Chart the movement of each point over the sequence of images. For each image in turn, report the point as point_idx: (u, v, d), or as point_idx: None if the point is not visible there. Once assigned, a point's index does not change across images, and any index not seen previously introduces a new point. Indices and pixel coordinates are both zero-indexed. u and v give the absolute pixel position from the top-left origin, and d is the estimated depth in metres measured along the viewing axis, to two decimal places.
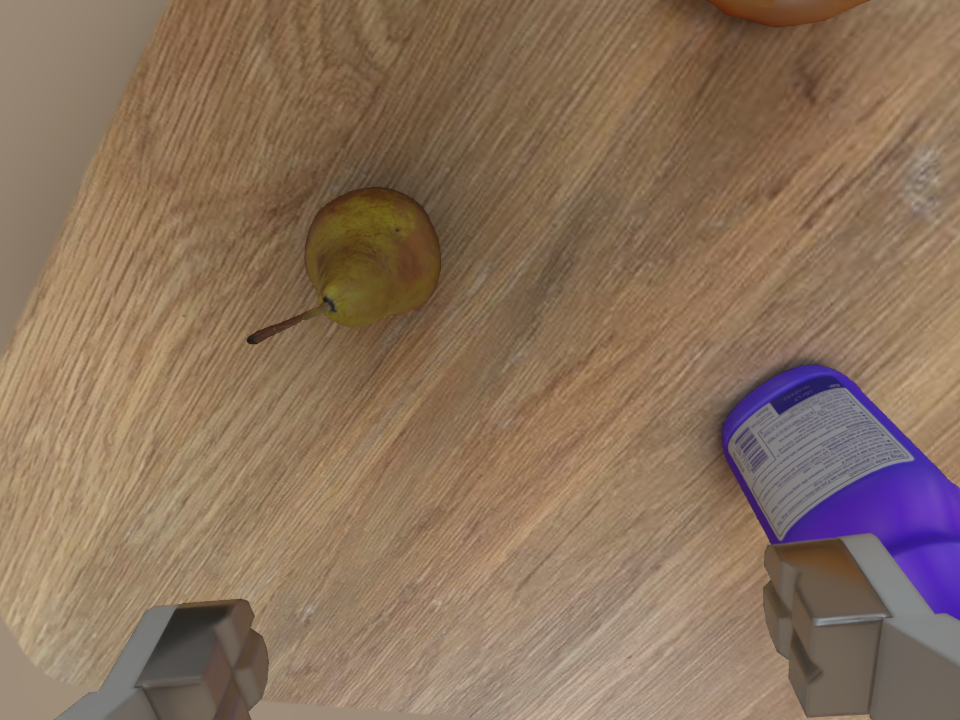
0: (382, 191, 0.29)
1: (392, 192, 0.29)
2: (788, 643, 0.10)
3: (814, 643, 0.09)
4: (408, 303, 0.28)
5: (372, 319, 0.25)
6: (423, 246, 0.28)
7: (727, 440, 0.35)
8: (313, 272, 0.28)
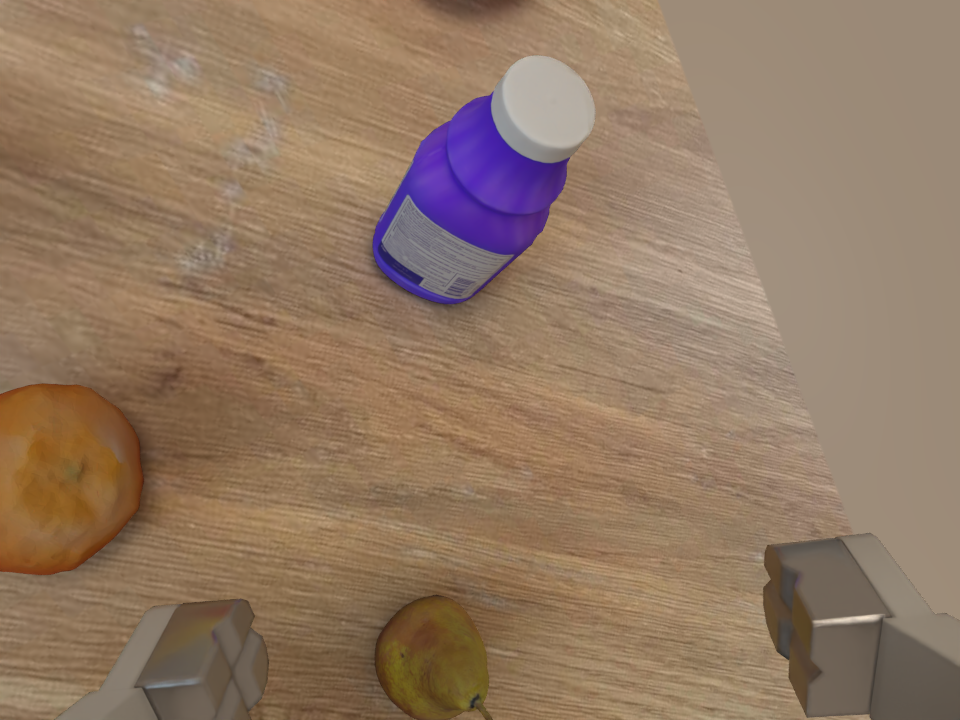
0: (379, 675, 0.34)
1: (376, 666, 0.34)
2: (788, 643, 0.10)
3: (814, 643, 0.09)
4: (456, 619, 0.34)
5: (474, 656, 0.30)
6: (407, 627, 0.34)
7: (462, 299, 0.41)
8: None
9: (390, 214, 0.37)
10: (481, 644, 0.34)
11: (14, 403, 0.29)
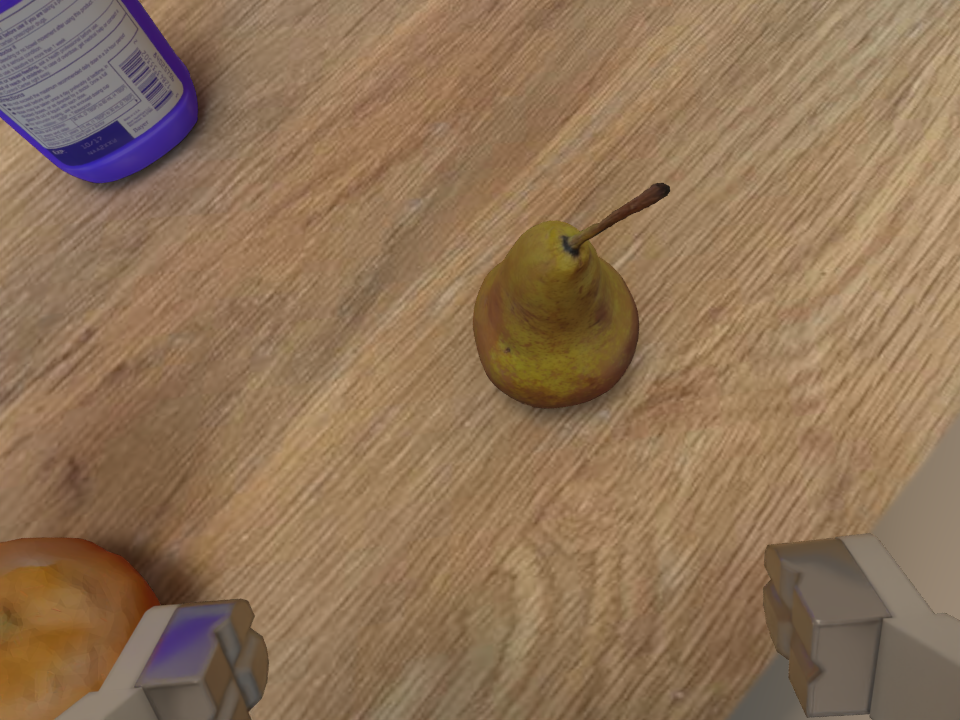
0: (531, 400, 0.23)
1: (520, 398, 0.24)
2: (788, 643, 0.10)
3: (814, 643, 0.09)
4: None
5: (528, 230, 0.19)
6: (482, 329, 0.23)
7: (185, 97, 0.30)
8: (619, 304, 0.22)
9: None
10: None
11: None
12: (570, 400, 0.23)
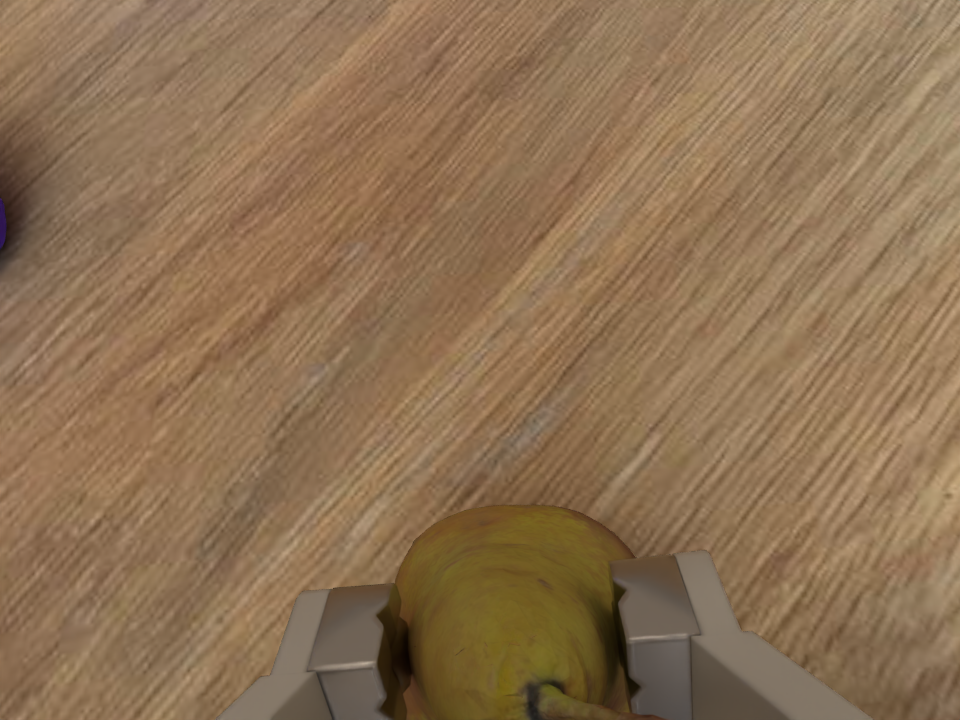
0: None
1: None
2: None
3: (631, 659, 0.09)
4: (436, 555, 0.13)
5: (458, 602, 0.09)
6: None
7: None
8: None
9: None
10: (529, 524, 0.13)
11: None
12: None
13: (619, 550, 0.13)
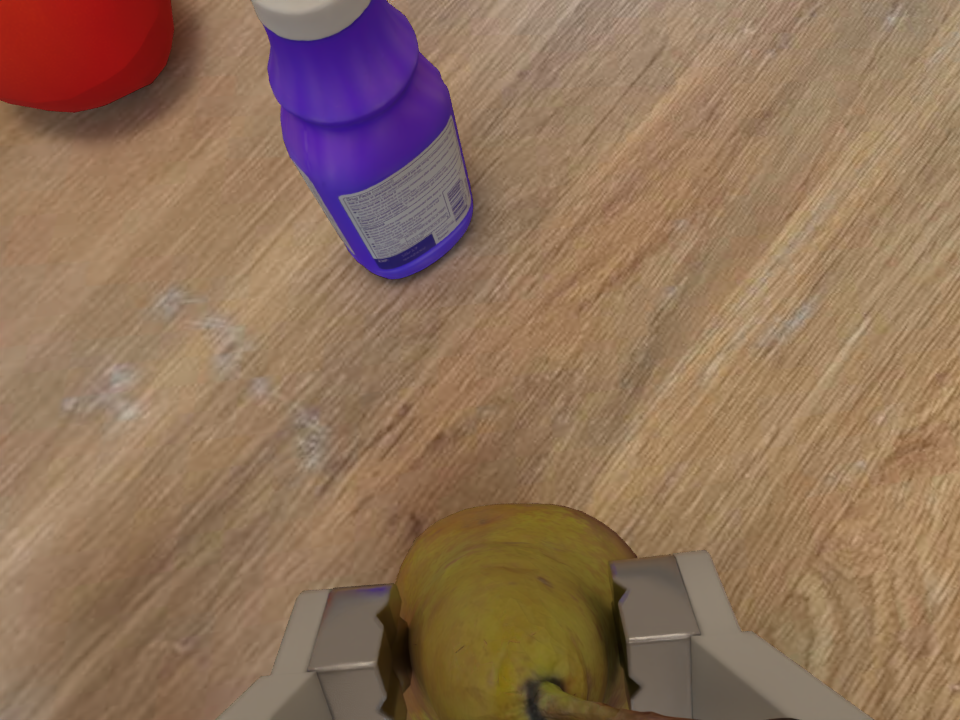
0: None
1: None
2: None
3: (630, 660, 0.09)
4: (437, 553, 0.13)
5: (458, 600, 0.09)
6: None
7: (470, 207, 0.37)
8: None
9: (351, 232, 0.32)
10: (530, 522, 0.13)
11: None
12: None
13: (620, 548, 0.13)
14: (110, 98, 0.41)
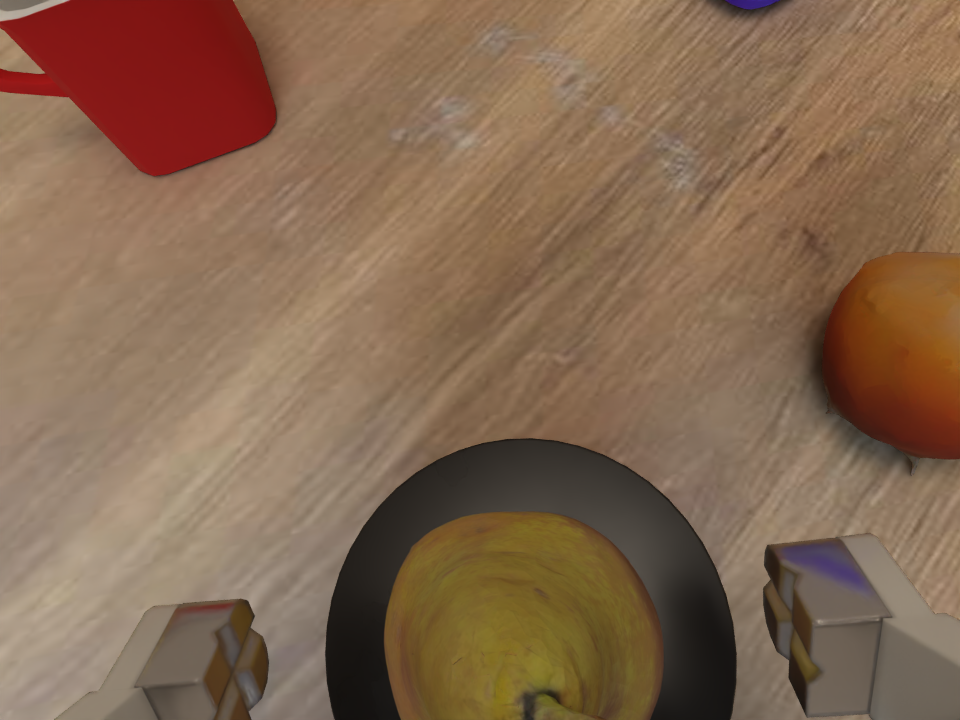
0: None
1: None
2: (788, 643, 0.10)
3: (814, 643, 0.09)
4: (434, 562, 0.13)
5: (456, 611, 0.09)
6: (394, 680, 0.13)
7: None
8: (634, 665, 0.12)
9: None
10: (526, 531, 0.13)
11: (896, 308, 0.24)
12: None
13: (615, 557, 0.13)
14: None
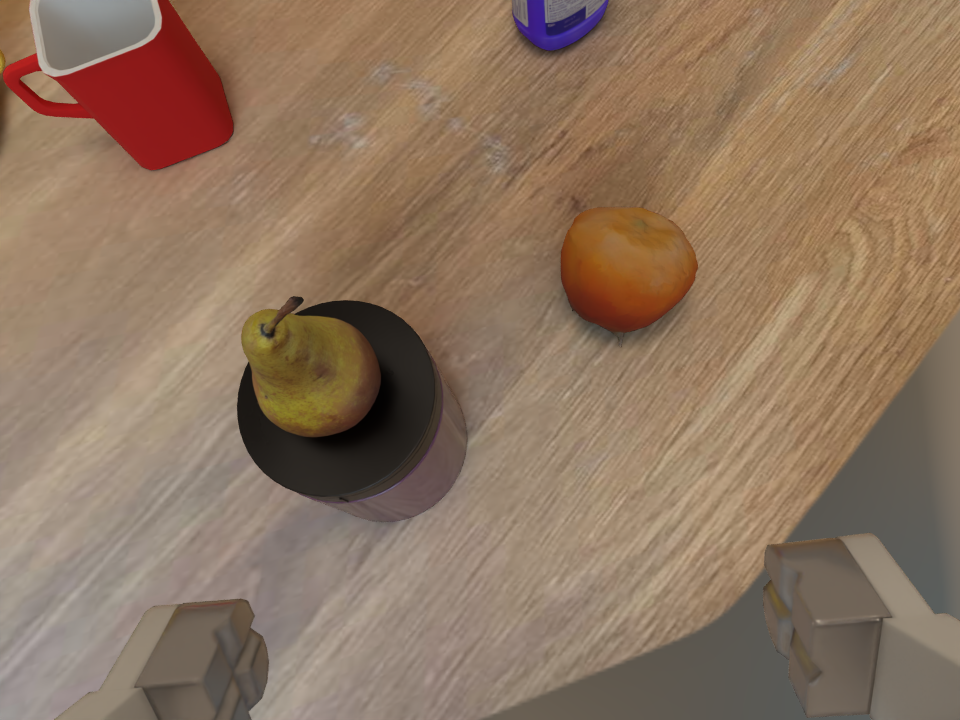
0: (295, 432, 0.31)
1: (288, 431, 0.31)
2: (788, 643, 0.10)
3: (814, 643, 0.09)
4: None
5: None
6: None
7: None
8: (344, 361, 0.29)
9: None
10: (308, 316, 0.30)
11: (579, 237, 0.41)
12: (323, 431, 0.31)
13: (350, 329, 0.31)
14: None
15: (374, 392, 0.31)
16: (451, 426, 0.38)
